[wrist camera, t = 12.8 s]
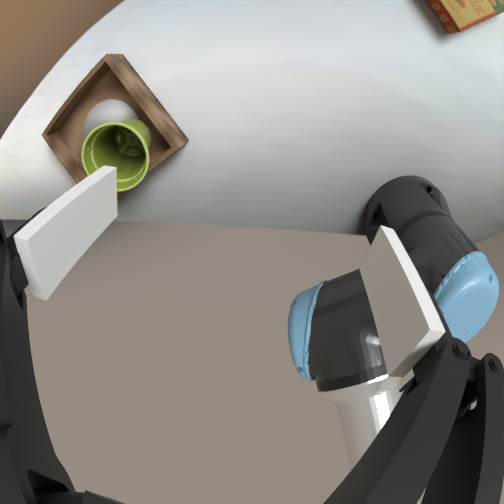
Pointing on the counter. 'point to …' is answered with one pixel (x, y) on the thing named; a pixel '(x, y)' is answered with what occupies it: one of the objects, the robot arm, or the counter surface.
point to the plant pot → (119, 151)
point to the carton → (464, 12)
